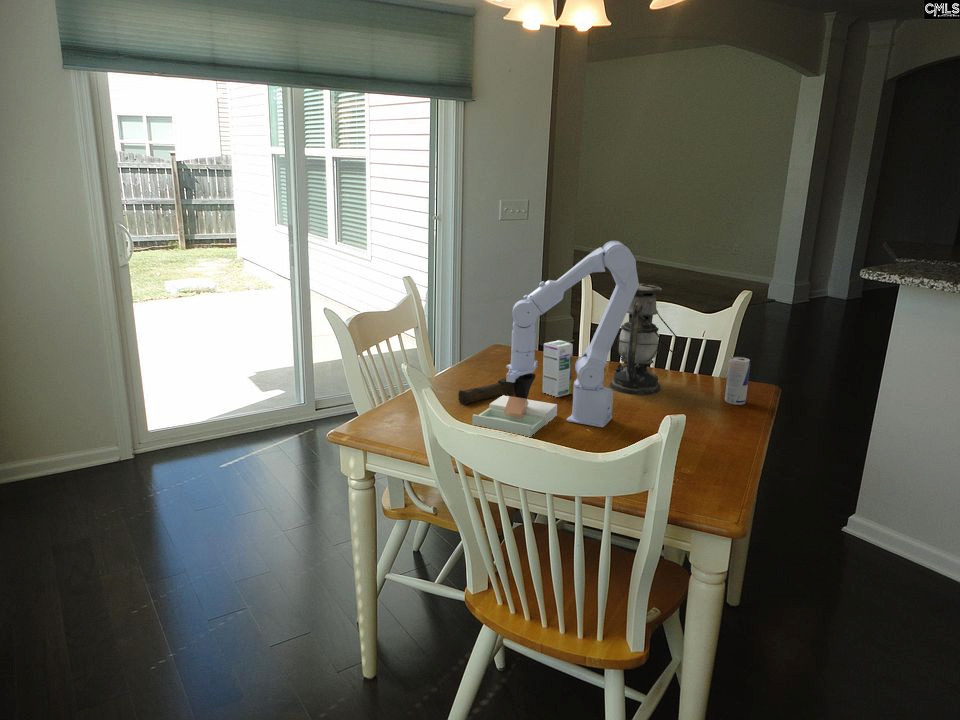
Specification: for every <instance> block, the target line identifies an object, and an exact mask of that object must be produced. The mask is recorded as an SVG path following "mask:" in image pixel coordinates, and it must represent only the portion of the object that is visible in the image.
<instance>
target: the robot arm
mask: <svg viewBox="0 0 960 720" xmlns="http://www.w3.org/2000/svg"><path fill="white" fill-rule="evenodd" d="M605 267H606V268H607V269H608V270H609V272H610V273H611V275H612V278H613V280H614V282H615V286H614V287H615V288H614V289H613V291H612V294H611V296H610V299H609V301H608V302H607V305H606V307H605V310H604V312H603V314H602V316H601V318H600V321H599V324H598V326H597V328H596V329H595V332H594V334H593V337H592V339H591V341H590V344H589V345H588V346H587V347H586V348H585V350H584V353H583V354H581V356H580V357H578V359H577V360H576V362H575V365H574V368H575V369H574V370H575V372H576V375H577V377H576V379H575V380H574V381H573V389H572V390H573V394H572V408H571V409H572V412H571V415H570V416H568V417H567V418H566V420H565V421H567V422H568V423H569V422H571V423H575V424H582V425H587V426H590V427H591V426H592V427H597V428H605V426H606V425H607V424H608V423H609V422H610V421H611V420H612V419H613V416H612V414H613V402H614V401H613V400H614V392H613V391H614V390H613V389H612V388H610V387H609V388H608V387H606V386H604V379H605V368H606V366H607V363H608V356H609V352H610V351H611V349H612V346H613V344H614V342H615V339H616V338H617V335H618V333H619V331H620V329H621V326H622V325H623V322H624V320H625V317H626V316H627V314H628V313H627V311H628V309H629V307H630V304H631V302H632V300H633V298H634V295H635V293H636V291H637V289H638V285H639V284H640V282H639V277H638V272H637V260H636V257H634V254H633V253H632V252H631V250H630V248H629V247H627V246H626V245H624V244H623V242H621V241H619V240H610V241H608V242H606V243H605V244H603V246H602V247H601V246H600V247H598V248H596V249H594V250H593V251H591V252H590V253H589V254H588V255H586V256H585V257H584V258H582V259H581V260H580V261H578V262H577V263H576V264H575V265H574V266H573V267H572V268H570V269H569V270H567V271H566V272H565V273H564V274H563V275H562V276H560V277H559V278H558V279H557V280H551V279H548V280H547V281H544V280H542V281H540V283H539V284H538V287H537V288H536V289H535V290H533V291H532V292H530V293H529V294H525V295H523V299H520V300H518V301H516V302H515V304H514V305H513V307H512V310H511V316H512V320H513V322H512V331H511V348H510V349H511V352H510V353H511V354H510V363H509V364H507V365H506V369H507V370H508V372H507V373H506V374H505V375H506V377H505V378H506V381H507V382H511V384H512V387H513V390H514V393H513V394H514V397H518V398H525V399H528V396H529V394H530V393H529V392H530V390H531V387H532V384H533V382H534V380H536V374H535V373H534V372H535V371H536V369H538V360H535V358H536V357H535V354H536V353H535V352H536V351H535V350H536V330H535V323H536V322H537V319H538V316H542V315H543V314H545V313H547V312H548V311H549V310H551V309H552V308H553V307H554V306H556V305H557V304H559V303H560V302H561V301H563V299H564V294H565V292H566V291H568V290H569V289H570V288H572V287H573V286H575V285H576V284H577V283H579V282H580V281H582V280H584V279H585V278H586V277H588V276H589V275H591V274H592V273H604V272H606V269H605Z"/></svg>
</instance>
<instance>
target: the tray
mask: <svg viewBox="0 0 960 720" xmlns="http://www.w3.org/2000/svg"><path fill="white" fill-rule="evenodd" d="M471 422H472V424H471V425H477V426H482V427H487V428H491V429H497V430H501V431H506V432H510V433H515V434H520V435H524V436H528V437H531V438H532V437H533V436H534V435H536V434H537V433H538V432H539V431H540V430H541V429H540V428H542V427H543V426H544V425H545V418H541V417H535V416H530V415H524V417H523V419H522V418H516V417H510V416H506V415H505V413H504V411H502V410H497V409H491V408H489V407H488V408H486V409H485V410H483V411H482V412H481V413H479V414H475V413H474V414H472V421H471ZM545 426H546V425H545ZM545 426H544V427H545ZM544 427H543V428H544ZM543 428H542V429H543ZM539 429H540V430H539ZM538 430H539V431H538ZM537 431H538V432H537ZM536 432H537V433H536ZM535 433H536V434H535ZM533 434H534V435H533ZM532 435H533V436H532Z"/></svg>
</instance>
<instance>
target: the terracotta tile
mask: <svg viewBox="0 0 960 720" xmlns="http://www.w3.org/2000/svg"><path fill="white" fill-rule="evenodd" d="M509 396H510V395H509ZM527 399H528V398H527ZM527 399H525V398H518V397H515V396H510V397H509V399H508V402H507V405H506V407H505V410H504V413H505V415H506V416H510V417H516V418H522V419H523V417H524V414H525V412H526V409H527V406H528V401H527Z"/></svg>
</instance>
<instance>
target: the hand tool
mask: <svg viewBox="0 0 960 720" xmlns="http://www.w3.org/2000/svg"><path fill="white" fill-rule="evenodd" d="M511 393H512V394H514V390H513V387H512V384H511V382H507V381H506V377H505V378H500V379H498V381H497V382H496V383H492V384H488V385H484V386H480V387H474V388H470V389H465V390H461V389H460V390H458V401H459V404H462V405H468V404H472V402H473V403H474V402H477V401H480V400H484V399H485V400H486V399H488V398H489V399H490V398H493V397H497V396H500V395H502V396H503V395H507V396H510V395H512V394H511ZM509 394H510V395H509Z"/></svg>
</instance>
